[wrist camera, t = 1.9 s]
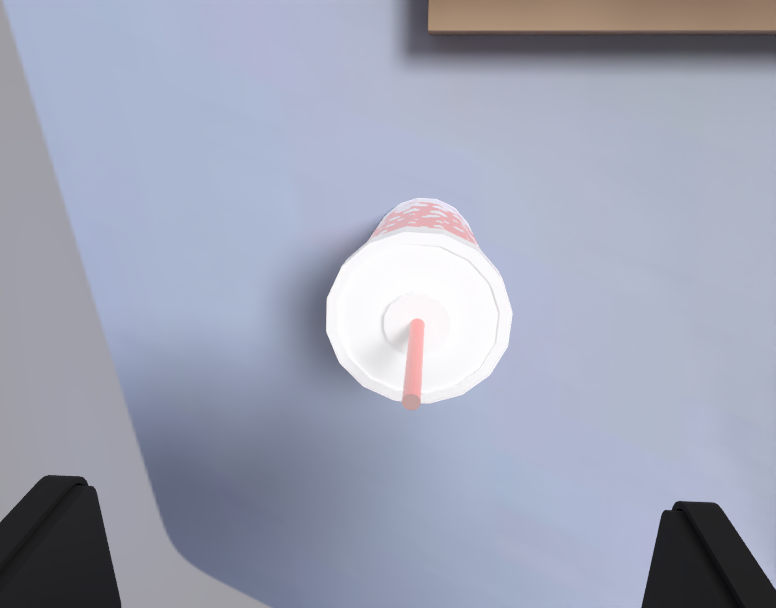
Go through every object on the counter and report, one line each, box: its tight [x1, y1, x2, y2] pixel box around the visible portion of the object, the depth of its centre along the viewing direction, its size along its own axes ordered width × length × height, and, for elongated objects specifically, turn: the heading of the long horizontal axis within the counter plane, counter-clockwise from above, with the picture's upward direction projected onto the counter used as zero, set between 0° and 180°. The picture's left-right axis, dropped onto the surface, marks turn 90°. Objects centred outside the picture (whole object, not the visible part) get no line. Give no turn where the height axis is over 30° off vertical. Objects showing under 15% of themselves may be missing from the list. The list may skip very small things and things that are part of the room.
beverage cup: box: [326, 198, 513, 410], centre depth 21 cm, size 6×6×14 cm
